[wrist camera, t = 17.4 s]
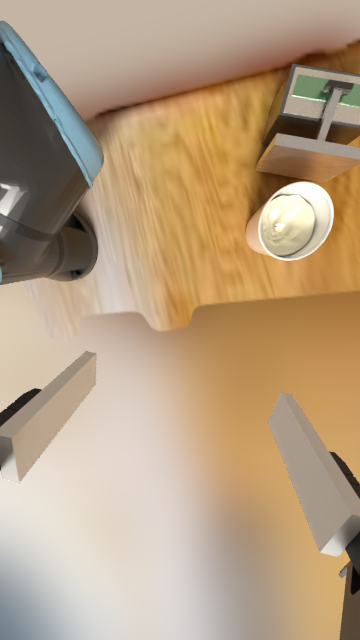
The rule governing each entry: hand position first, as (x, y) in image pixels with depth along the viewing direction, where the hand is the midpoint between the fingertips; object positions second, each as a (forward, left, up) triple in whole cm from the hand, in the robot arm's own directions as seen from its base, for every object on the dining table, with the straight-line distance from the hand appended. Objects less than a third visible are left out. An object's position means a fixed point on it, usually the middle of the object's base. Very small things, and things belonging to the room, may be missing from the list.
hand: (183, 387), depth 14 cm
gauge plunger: (+12, +27, -31) cm, 43 cm away
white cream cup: (+11, +15, -32) cm, 37 cm away
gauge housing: (+12, +30, -32) cm, 46 cm away
